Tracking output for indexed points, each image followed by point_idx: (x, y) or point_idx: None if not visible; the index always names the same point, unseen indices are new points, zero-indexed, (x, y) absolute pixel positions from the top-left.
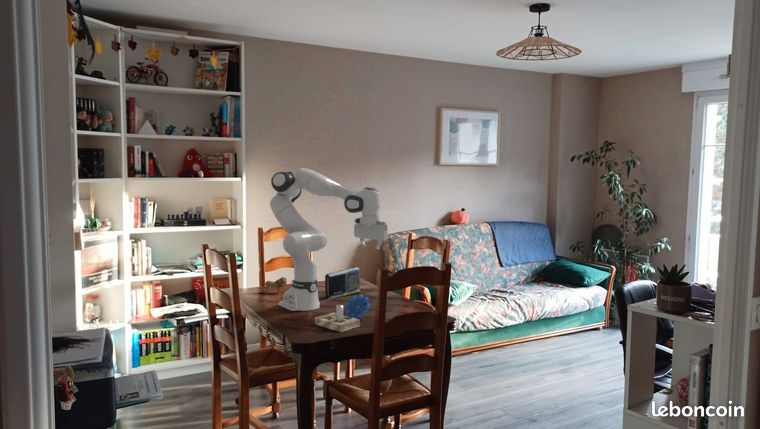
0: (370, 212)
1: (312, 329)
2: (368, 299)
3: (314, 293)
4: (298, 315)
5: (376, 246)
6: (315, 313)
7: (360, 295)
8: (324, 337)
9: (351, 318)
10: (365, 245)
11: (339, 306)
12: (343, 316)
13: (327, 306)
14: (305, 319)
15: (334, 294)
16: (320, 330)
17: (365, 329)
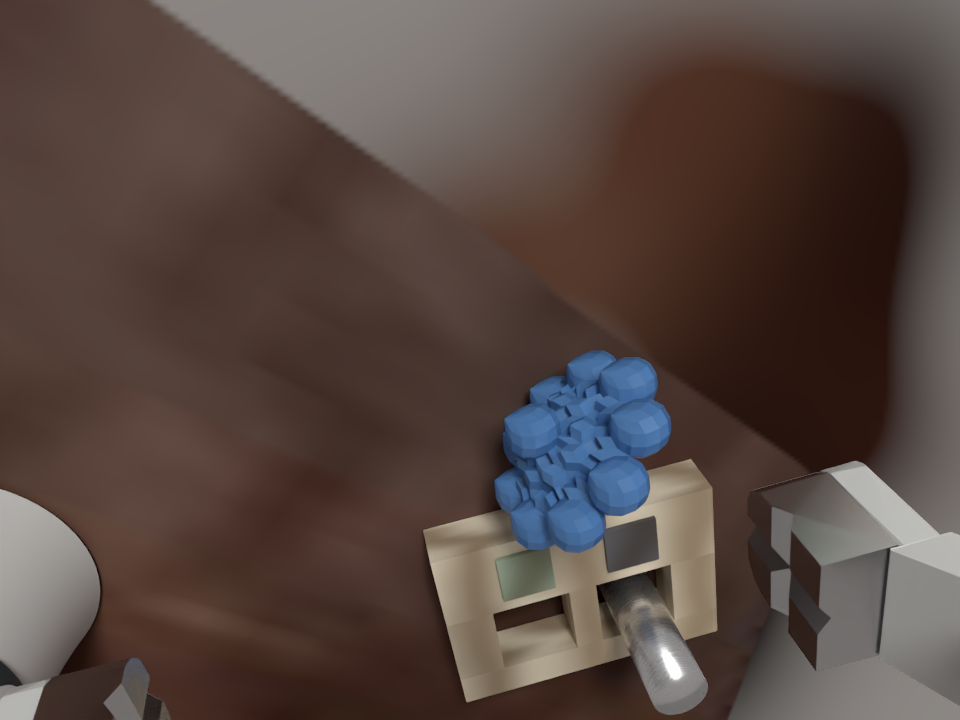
0: None
1: (541, 702)
2: (663, 407)
3: (15, 657)
4: (191, 688)
5: (838, 635)
6: (202, 581)
7: (641, 504)
8: None
9: (656, 528)
10: (126, 713)
11: (698, 703)
12: None
13: (12, 419)
14: (318, 678)
15: None
16: (587, 674)
17: (765, 461)
